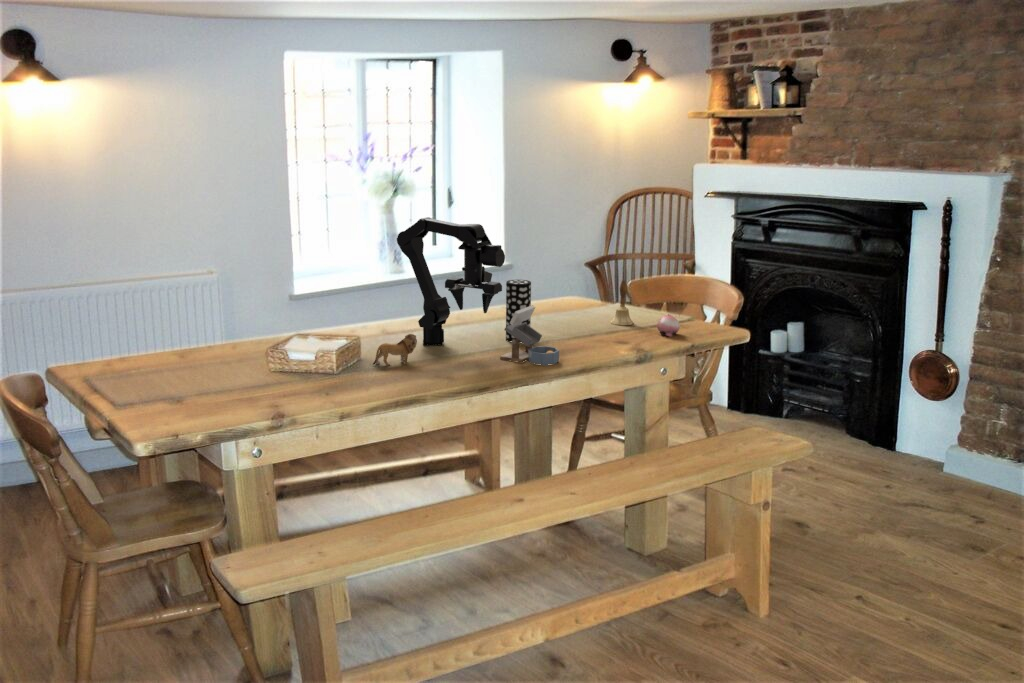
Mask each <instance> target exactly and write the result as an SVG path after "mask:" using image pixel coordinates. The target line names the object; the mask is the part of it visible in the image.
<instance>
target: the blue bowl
mask: <svg viewBox="0 0 1024 683" xmlns="http://www.w3.org/2000/svg"><path fill="white" fill-rule="evenodd" d="M547 351H553V353H546V352H547ZM528 360H529V361H530V362H531V363H535V364H541V365H543V366H549V365H548V364H554V365H556V364H558V363H559V362H560V350H559V348H557V347H555V346H548V345H541V346H540V345H539V346H532V348H530V349H528ZM528 360H527V361H528ZM529 361H528V362H529ZM530 362H529V363H530ZM557 362H558V363H557ZM531 363H530V364H531ZM555 363H556V364H555ZM535 364H534V365H535ZM541 365H540V366H541Z"/></svg>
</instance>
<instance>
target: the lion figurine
mask: <svg viewBox="0 0 1024 683" xmlns="http://www.w3.org/2000/svg"><path fill="white" fill-rule="evenodd" d="M417 343H418V340H417V335H416V334H414V333H408V334H406V335H404V338H403V339H401V340H400V341H399V342H398V343H388V342H385V343H382V344H380V345H379V346H378V347H377V349H376V354H375V359H374V361H373V363H372V365H376V364H377V365H379V364H381V361H379V360H380V359H381V358H383V360H382V361H383V364H385V366H388V367H389V366H391V364H390V363H389V362H388V361H387V359H388V357H389V354H390V355H391V356H400V362H401V363H404V364H405V365H409V364H410V362H409V361H408V359H409V357H408V356H409V355H411V354H412V353H413V352H414V350H415V348H416V347H417Z"/></svg>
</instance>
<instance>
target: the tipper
mask: <svg viewBox="0 0 1024 683" xmlns="http://www.w3.org/2000/svg"><path fill="white" fill-rule="evenodd" d="M535 309H536V306H535V305H532V304H531V306H529V307H526V308H524V309H521V310H518V311H515V313H514V315H513V317H512V319H511V321H510V324H511V325H509V326H507V327H506V326H505V327H504V330H503V331H505V332H506V331H507V332H508V333H509V334H511V335H512V336H513V337H515V338H516V339H518V340H519V341H520V342H522V344H523V345H524V346H525V345H526V346H527V347H529V346H531V345H532V346H533V345H535V344H538V343H540V341H541V339H542V337H543V334H541V333H540V332H539V331H537V330H536V329H534V328H533V327H531V325H530V326H529V325H527V323H526V322H524V323H522V322H523V321H525V320H528V319H530V317H532V315H533V313H534V311H535ZM521 323H522V324H521Z"/></svg>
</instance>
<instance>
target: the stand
mask: <svg viewBox="0 0 1024 683" xmlns="http://www.w3.org/2000/svg"><path fill="white" fill-rule="evenodd" d="M524 347H525V348H524V350H523V349H520V343H519V340H518V339H512V342H511V351H510V352H507V353H504V354H502V355H500V356H499V359H500V360H502V361H508V360H511V361H510V362H514V361H518V362H517V363H520V362H523V361H525V360H527V361H528V349H530V348H532V347H533V345H531V346H529V347H527V346H526V345H524ZM525 362H526V361H525ZM523 363H524V362H523Z"/></svg>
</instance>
